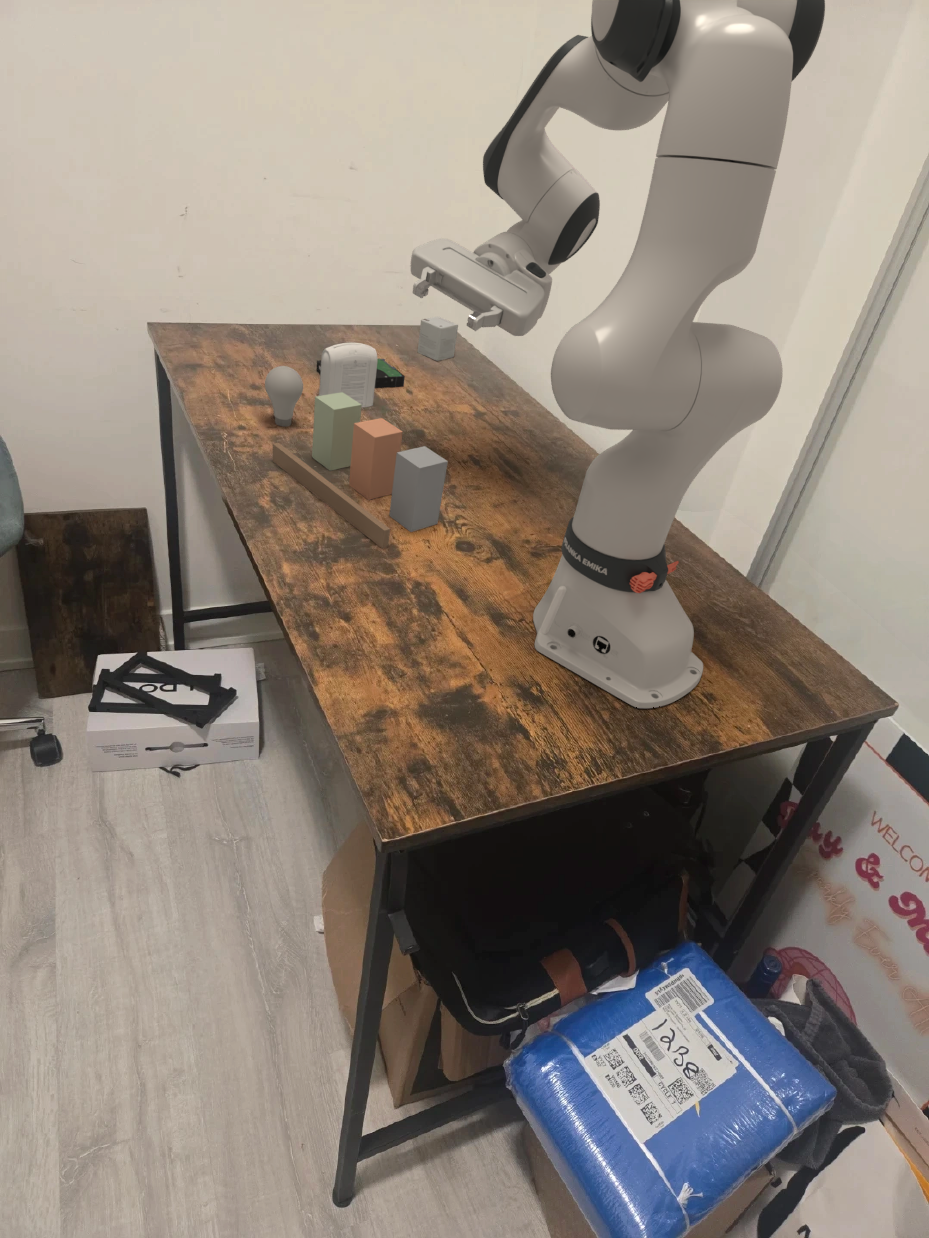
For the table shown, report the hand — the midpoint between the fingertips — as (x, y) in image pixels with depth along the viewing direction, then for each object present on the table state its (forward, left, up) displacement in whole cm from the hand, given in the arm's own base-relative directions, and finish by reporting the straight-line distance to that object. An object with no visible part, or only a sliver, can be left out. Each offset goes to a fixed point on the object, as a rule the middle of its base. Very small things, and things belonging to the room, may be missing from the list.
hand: (443, 307), depth 108 cm
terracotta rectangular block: (+1, +8, -27) cm, 28 cm away
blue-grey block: (-9, +8, -27) cm, 29 cm away
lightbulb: (+26, +8, -28) cm, 39 cm away
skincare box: (+47, -44, -28) cm, 70 cm away
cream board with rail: (+1, +9, -28) cm, 29 cm away
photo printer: (+29, -7, -28) cm, 41 cm away
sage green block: (+11, +8, -27) cm, 30 cm away
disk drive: (+41, -19, -29) cm, 54 cm away
